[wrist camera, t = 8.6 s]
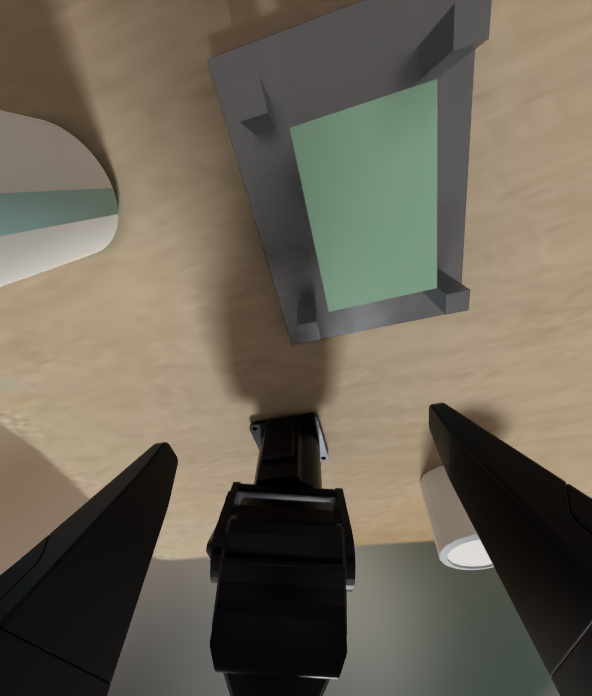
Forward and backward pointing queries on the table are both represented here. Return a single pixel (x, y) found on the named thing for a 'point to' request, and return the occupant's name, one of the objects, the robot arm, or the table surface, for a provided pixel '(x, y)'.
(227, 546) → the robot arm
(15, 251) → the can
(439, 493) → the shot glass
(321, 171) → the green rectangular block
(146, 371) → the table surface
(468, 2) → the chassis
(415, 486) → the table surface
